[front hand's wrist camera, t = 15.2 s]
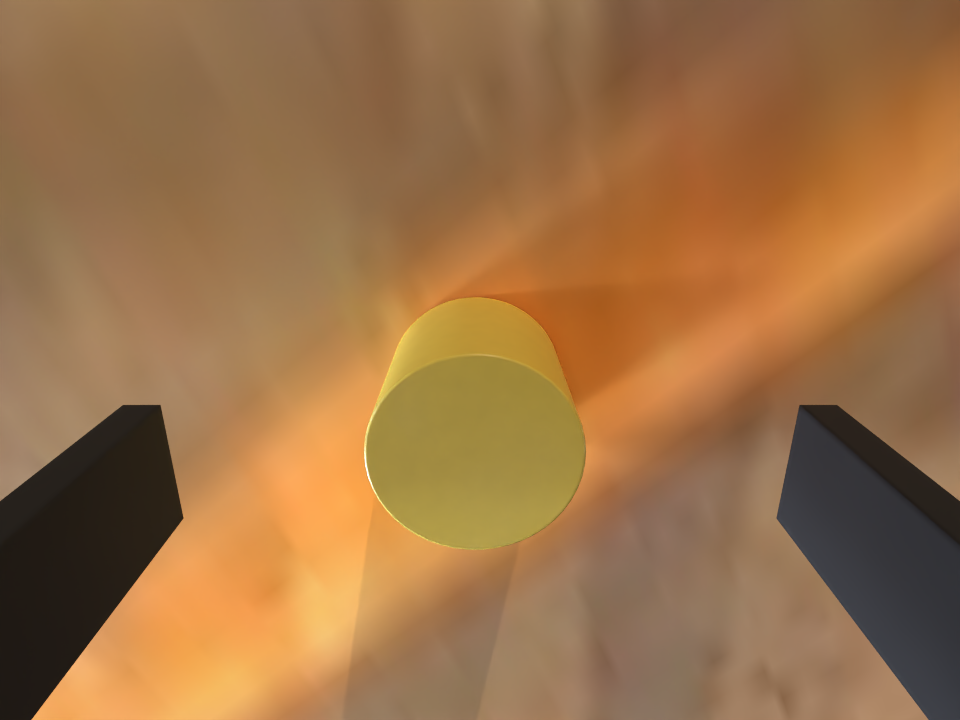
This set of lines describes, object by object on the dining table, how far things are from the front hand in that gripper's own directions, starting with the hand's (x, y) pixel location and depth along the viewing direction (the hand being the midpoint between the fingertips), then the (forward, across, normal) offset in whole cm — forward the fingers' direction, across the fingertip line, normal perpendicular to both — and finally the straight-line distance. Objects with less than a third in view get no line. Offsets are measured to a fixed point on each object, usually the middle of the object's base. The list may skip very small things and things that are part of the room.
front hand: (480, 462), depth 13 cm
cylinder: (+5, 0, 0) cm, 5 cm away
